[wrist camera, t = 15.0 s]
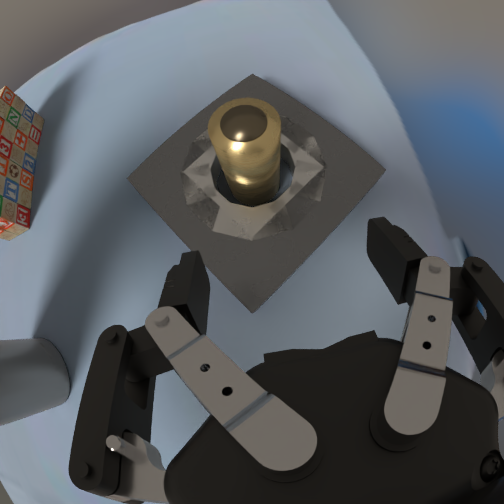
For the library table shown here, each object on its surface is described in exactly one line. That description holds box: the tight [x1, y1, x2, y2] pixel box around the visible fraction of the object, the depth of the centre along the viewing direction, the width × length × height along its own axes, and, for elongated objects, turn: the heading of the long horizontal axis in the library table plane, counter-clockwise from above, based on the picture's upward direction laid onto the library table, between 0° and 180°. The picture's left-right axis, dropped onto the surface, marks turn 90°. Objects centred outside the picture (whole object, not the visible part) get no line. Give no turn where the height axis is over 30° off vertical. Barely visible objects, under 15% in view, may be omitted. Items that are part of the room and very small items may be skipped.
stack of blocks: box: [0, 86, 44, 241], centre depth 25 cm, size 21×6×12 cm, turn 15°
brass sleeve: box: [208, 98, 281, 206], centre depth 22 cm, size 5×5×10 cm
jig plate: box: [127, 74, 386, 313], centre depth 26 cm, size 18×18×3 cm
